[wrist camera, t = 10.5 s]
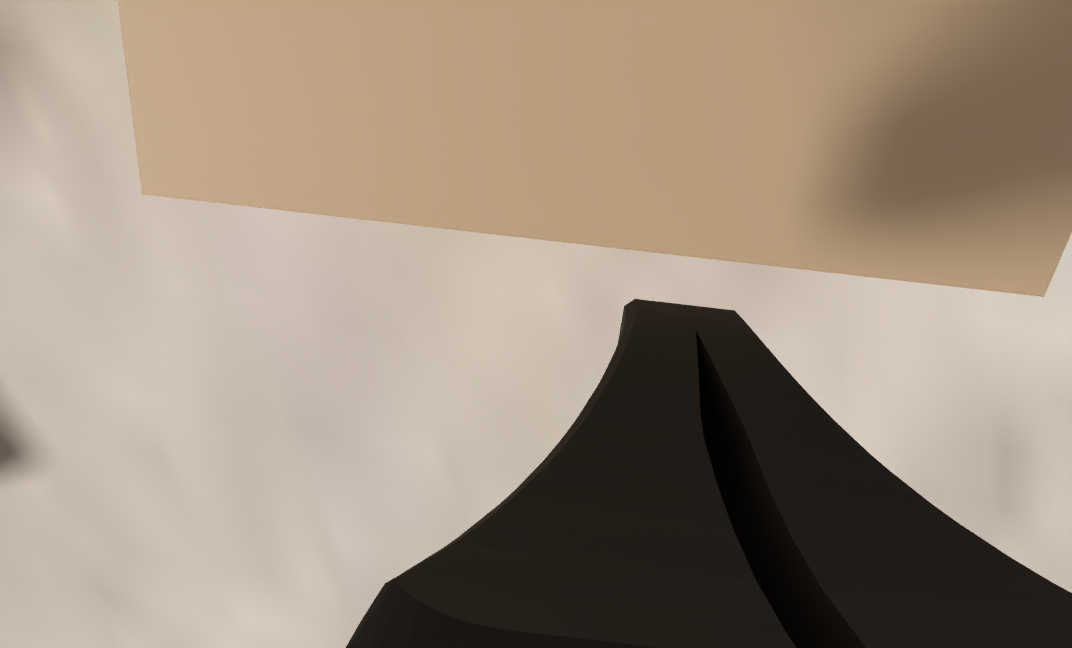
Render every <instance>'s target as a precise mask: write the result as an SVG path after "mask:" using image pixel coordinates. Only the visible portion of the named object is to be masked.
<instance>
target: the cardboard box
mask: <svg viewBox="0 0 1072 648" xmlns="http://www.w3.org/2000/svg"><path fill="white" fill-rule="evenodd" d="M118 7H119V15H120V23H121V31H122V39H123V47H124V55H125V63H126V71H127V78H128V86H129V94H130V102H131V110H132V118H133V126H134V134H135V142H136V150H137V157H138V165H139V173H140V181H141V189H142V194H144V195H153V196H161V197H170V198H179V199H188V200H197V201H205V202H214V203H223V204H232V205H241V206H249V207H258V208H267V209H276V210H285V211H293V212H302V213H311V214H320V215H329V216H337V217H346V218H355V219H364V220H373V221H381V222H390V223H399V224H408V225H417V226H425V227H434V228H443V229H452V230H461V231H469V232H478V233H487V234H496V235H505V236H513V237H522V238H531V239H540V240H549V241H557V242H566V243H575V244H584V245H593V246H601V247H610V248H619V249H628V250H637V251H645V252H654V253H663V254H672V255H681V256H689V257H698V258H707V259H716V260H725V261H733V262H742V263H751V264H760V265H769V266H777V267H786V268H795V269H804V270H813V271H821V272H830V273H839V274H848V275H857V276H865V277H874V278H883V279H892V280H901V281H909V282H918V283H927V284H936V285H945V286H953V287H962V288H971V289H980V290H989V291H997V292H1006V293H1015V294H1024V295H1033V296H1041V297H1044V295H1045V293H1046V291H1047V288H1048V286H1049V284H1050V281H1051V279H1052V277H1053V274H1054V272H1055V270H1056V267H1057V265H1058V263H1059V260H1060V258H1061V256H1062V253H1063V251H1064V249H1065V246H1066V244H1067V242H1068V239H1069V237H1070V235H1071V232H1072V0H118Z"/></svg>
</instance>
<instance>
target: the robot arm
mask: <svg viewBox="0 0 1072 648" xmlns="http://www.w3.org/2000/svg"><path fill="white" fill-rule="evenodd" d="M346 648H1072V593H1070V592H1068V591H1067V590H1065V589H1063V588H1061V587H1059V586H1058V585H1056V584H1054V583H1052V582H1050V581H1049V580H1047V579H1045V578H1044V577H1042V576H1040V575H1039V574H1037V573H1035V572H1034V571H1032V570H1030V569H1029V568H1027V567H1025V566H1024V565H1022V564H1020V563H1019V562H1017V561H1015V560H1014V559H1012V558H1010V557H1009V556H1007V555H1006V554H1004V553H1003V552H1001V551H1000V550H998V549H997V548H995V547H994V546H992V545H991V544H989V543H987V542H986V541H984V540H983V539H981V538H980V537H978V536H977V535H975V534H974V533H972V532H971V531H969V530H968V529H966V528H965V527H963V526H962V525H960V524H959V523H957V522H956V521H955V520H953V519H952V518H950V517H949V516H948V515H946V514H945V513H943V512H942V511H941V510H939V509H938V508H936V507H935V506H934V505H932V504H931V503H930V502H928V501H927V500H926V499H925V498H923V497H922V496H921V495H920V494H918V493H917V492H916V491H914V490H913V489H912V488H911V487H909V486H908V485H907V484H906V483H904V482H903V481H902V480H901V479H899V478H898V477H897V476H895V475H894V474H893V473H892V472H890V471H889V470H888V469H887V468H886V467H884V466H883V465H882V464H881V463H880V462H879V461H877V460H876V459H875V458H874V457H873V456H872V455H871V454H869V453H868V452H867V451H866V450H865V449H864V448H863V447H862V446H861V445H860V444H859V443H858V442H857V441H855V440H854V439H853V438H852V437H851V436H850V435H849V434H848V433H847V432H846V431H845V430H844V429H843V428H842V427H841V426H840V425H838V424H837V423H836V422H835V421H834V420H833V419H832V418H831V417H830V416H829V415H828V414H827V413H826V412H825V411H824V410H823V409H822V408H821V407H820V406H819V405H818V404H817V402H816V401H815V400H814V399H813V398H812V397H811V396H810V395H809V394H808V393H807V392H806V391H805V390H804V389H803V388H802V386H801V385H800V384H799V383H798V382H797V381H796V380H795V379H794V378H793V377H792V376H791V374H790V373H789V372H788V371H787V370H786V369H785V368H784V367H783V365H782V364H781V363H780V362H779V361H778V360H777V359H776V357H775V356H774V355H773V354H772V353H771V352H770V350H769V349H768V348H767V347H766V346H765V345H764V343H763V342H762V341H761V340H760V339H759V338H758V336H757V335H756V334H755V333H754V332H753V331H752V329H751V328H750V327H749V326H748V325H747V324H746V322H745V321H744V320H743V319H742V318H741V317H740V316H739V315H738V314H737V313H736V312H735V311H734V310H725V309H716V308H708V307H699V306H690V305H682V304H673V303H665V302H656V301H647V300H639V299H634V300H633V301H631V302H630V303H628V304H627V305H625V306H624V311H623V317H622V323H621V329H620V335H619V341H618V345H617V348H616V351H615V353H614V355H613V357H612V359H611V361H610V363H609V365H608V367H607V369H606V371H605V373H604V375H603V377H602V379H601V381H600V383H599V385H598V386H597V388H596V389H595V391H594V393H593V394H592V396H591V397H590V399H589V401H588V402H587V404H586V405H585V407H584V408H583V410H582V412H581V413H580V415H579V416H578V418H577V419H576V421H575V422H574V423H573V425H572V426H571V427H570V429H569V430H568V432H567V433H566V434H565V435H564V437H563V438H562V439H561V441H560V442H559V443H558V444H557V445H556V447H555V448H554V449H553V450H552V451H551V453H550V454H549V455H548V456H547V457H546V458H545V460H544V461H543V462H542V463H541V464H540V465H539V466H538V467H537V468H536V469H535V470H534V471H533V472H532V473H531V474H530V475H529V476H528V477H527V478H526V480H525V481H524V482H523V483H522V484H521V485H520V486H519V487H518V488H517V489H516V490H515V491H514V492H512V493H511V494H510V495H509V496H508V497H507V498H506V499H505V500H504V501H503V502H502V503H500V504H499V505H498V506H497V507H496V508H494V509H493V510H492V511H491V512H489V513H488V514H487V515H486V516H484V517H483V518H482V519H481V520H479V521H478V522H477V523H476V524H474V525H473V526H472V527H471V528H469V529H468V530H467V531H466V532H464V533H463V534H462V535H461V536H459V537H458V538H457V539H455V540H454V541H452V542H451V543H450V544H448V545H447V546H445V547H444V548H442V549H441V550H439V551H438V552H436V553H434V554H433V555H431V556H429V557H428V558H426V559H425V560H423V561H421V562H420V563H418V564H417V565H415V566H413V567H412V568H410V569H409V570H407V571H405V572H404V573H402V574H401V575H399V576H397V577H396V578H394V579H392V580H390V581H389V582H387V583H385V585H384V586H383V588H382V589H381V591H380V592H379V594H378V595H377V597H376V598H375V600H374V602H373V603H372V605H371V606H370V608H369V609H368V611H367V613H366V614H365V616H364V617H363V619H362V621H361V622H360V624H359V626H358V627H357V629H356V631H355V633H354V634H353V636H352V638H351V640H350V641H349V643H348V645H347V646H346Z"/></svg>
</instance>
